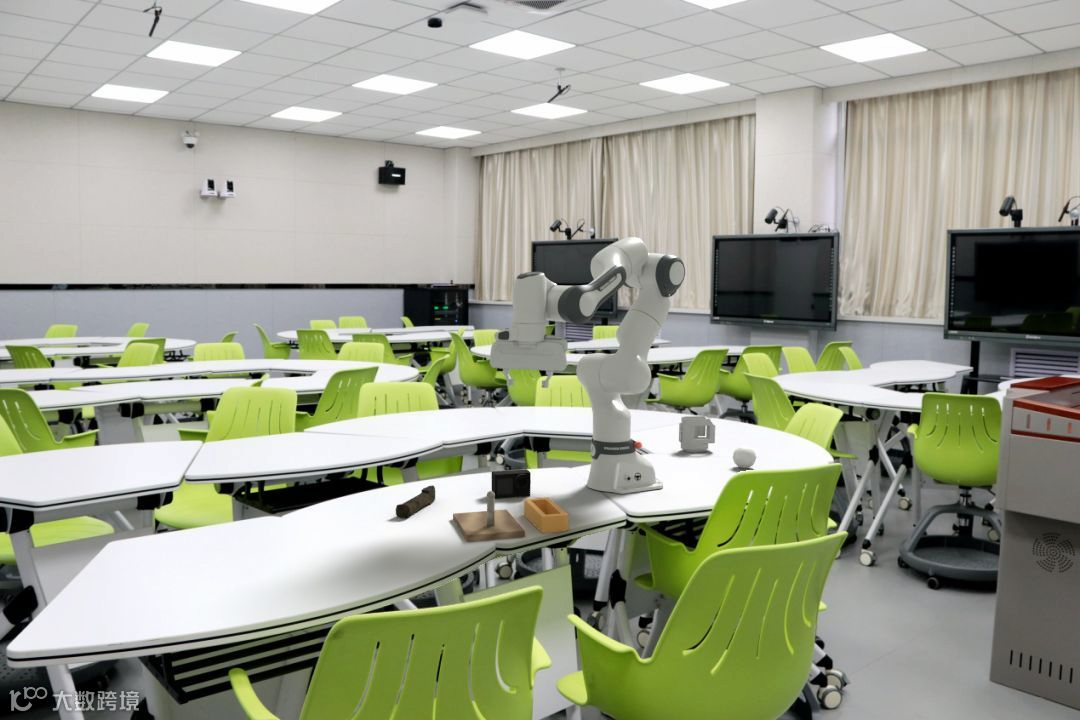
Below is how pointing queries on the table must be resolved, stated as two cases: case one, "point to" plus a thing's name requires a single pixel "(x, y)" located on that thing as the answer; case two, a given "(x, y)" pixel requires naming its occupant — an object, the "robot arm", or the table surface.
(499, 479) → the digital camera
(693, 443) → the cable organizer
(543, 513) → the small orange storage bin
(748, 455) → the grey rounded knob
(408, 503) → the brown wooden log
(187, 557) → the table surface
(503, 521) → the board
